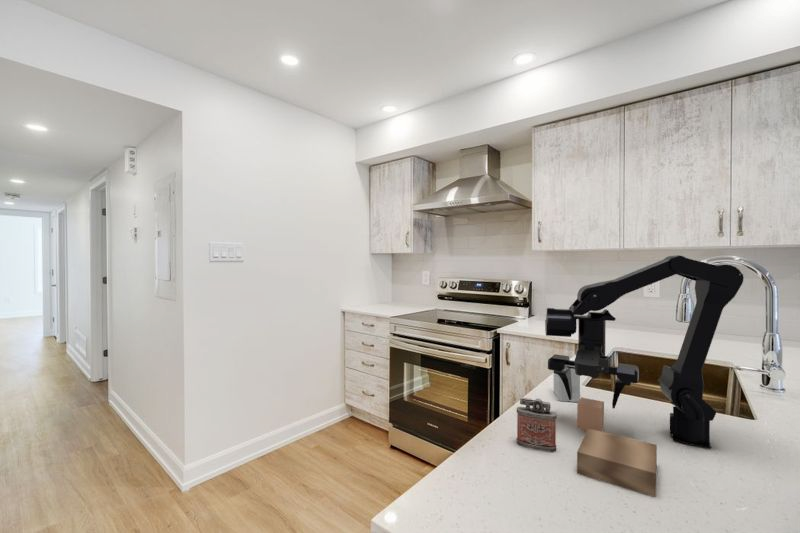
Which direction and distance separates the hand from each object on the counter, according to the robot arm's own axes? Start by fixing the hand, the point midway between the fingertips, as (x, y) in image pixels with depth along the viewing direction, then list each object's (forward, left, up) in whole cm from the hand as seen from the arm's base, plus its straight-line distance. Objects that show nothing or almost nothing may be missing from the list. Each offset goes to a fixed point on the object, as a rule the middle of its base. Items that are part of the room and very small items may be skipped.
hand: (591, 403), depth 88 cm
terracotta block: (0, 0, -6) cm, 6 cm away
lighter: (+8, +17, -6) cm, 20 cm away
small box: (+9, -18, -6) cm, 21 cm away
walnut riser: (-7, +17, -6) cm, 19 cm away
